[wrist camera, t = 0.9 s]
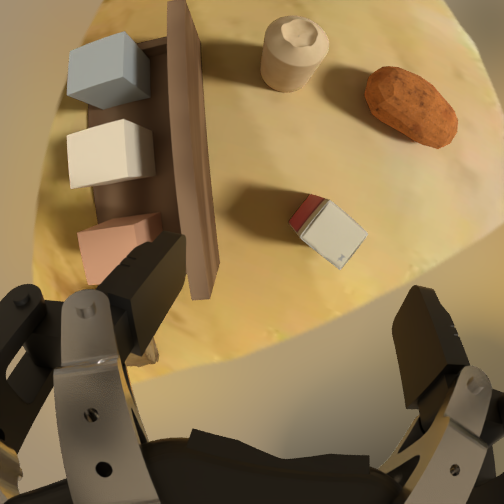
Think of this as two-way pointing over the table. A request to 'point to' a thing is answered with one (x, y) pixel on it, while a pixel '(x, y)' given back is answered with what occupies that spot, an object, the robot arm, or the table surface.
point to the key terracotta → (115, 242)
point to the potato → (411, 106)
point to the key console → (171, 150)
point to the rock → (144, 356)
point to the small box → (327, 230)
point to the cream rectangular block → (110, 154)
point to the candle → (292, 52)
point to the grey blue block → (109, 72)
